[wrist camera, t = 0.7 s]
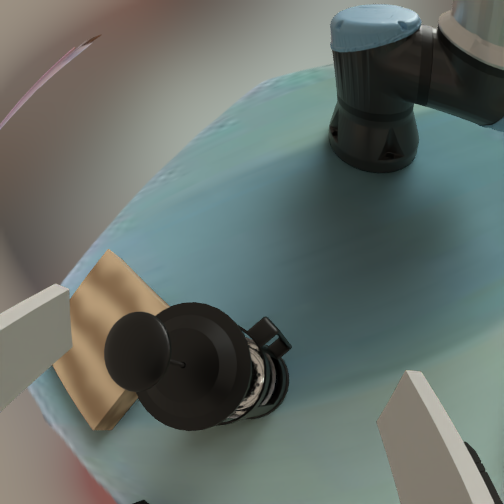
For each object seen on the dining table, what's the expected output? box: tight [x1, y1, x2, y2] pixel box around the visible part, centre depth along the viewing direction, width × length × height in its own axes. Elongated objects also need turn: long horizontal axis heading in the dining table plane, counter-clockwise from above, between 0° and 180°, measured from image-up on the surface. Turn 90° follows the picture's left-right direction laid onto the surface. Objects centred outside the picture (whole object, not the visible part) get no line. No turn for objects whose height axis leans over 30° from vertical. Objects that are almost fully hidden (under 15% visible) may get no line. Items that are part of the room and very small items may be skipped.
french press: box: [104, 302, 292, 431], centre depth 23 cm, size 12×9×23 cm
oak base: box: [53, 249, 170, 430], centre depth 38 cm, size 20×18×4 cm
